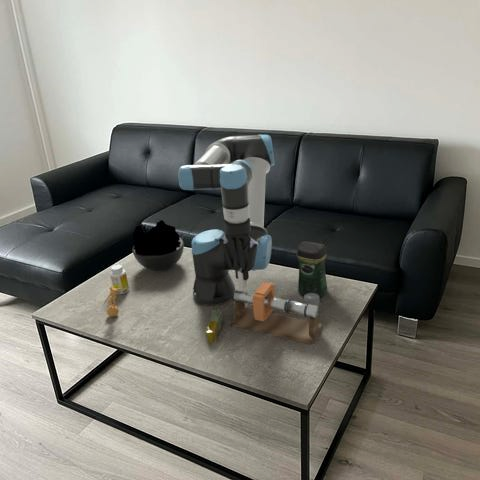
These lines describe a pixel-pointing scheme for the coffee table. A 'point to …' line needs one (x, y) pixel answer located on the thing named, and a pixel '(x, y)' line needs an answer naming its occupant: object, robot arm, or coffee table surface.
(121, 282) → the supplement bottle
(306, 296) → the gray egg
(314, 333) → the stand
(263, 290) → the ring
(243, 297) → the pipe
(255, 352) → the coffee table surface
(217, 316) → the medication box
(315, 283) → the coffee jar
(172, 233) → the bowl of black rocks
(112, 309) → the figurine
